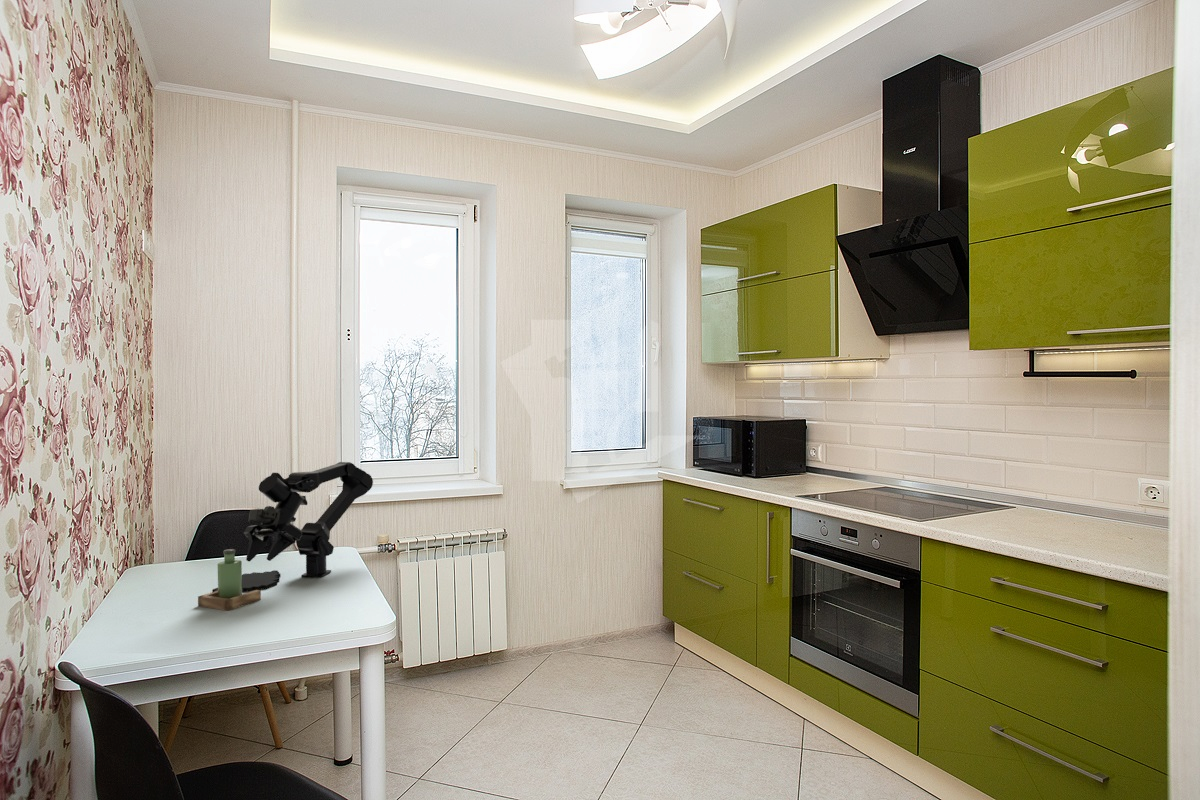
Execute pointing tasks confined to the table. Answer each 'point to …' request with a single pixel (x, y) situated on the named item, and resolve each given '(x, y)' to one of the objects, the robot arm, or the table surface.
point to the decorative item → (258, 581)
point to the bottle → (229, 576)
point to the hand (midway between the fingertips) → (257, 560)
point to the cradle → (228, 600)
